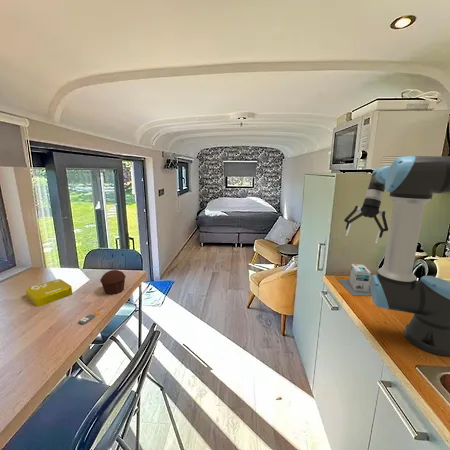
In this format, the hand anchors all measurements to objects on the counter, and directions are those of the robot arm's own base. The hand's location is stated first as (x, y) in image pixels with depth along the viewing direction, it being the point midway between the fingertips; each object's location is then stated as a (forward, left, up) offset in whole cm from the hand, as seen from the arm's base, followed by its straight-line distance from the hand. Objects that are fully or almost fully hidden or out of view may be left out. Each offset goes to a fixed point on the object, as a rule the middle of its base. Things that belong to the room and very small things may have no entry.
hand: (360, 239), depth 131 cm
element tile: (-17, +152, -26) cm, 155 cm away
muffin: (-11, +124, -25) cm, 127 cm away
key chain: (-33, +123, -26) cm, 130 cm away
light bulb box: (-3, 0, -25) cm, 25 cm away
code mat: (-3, 0, -25) cm, 25 cm away
